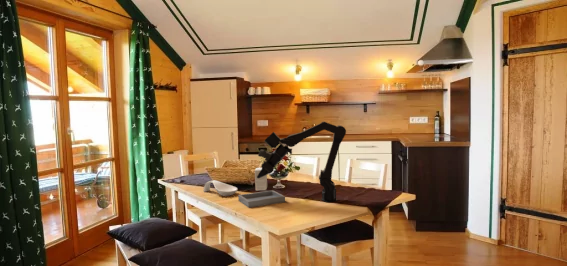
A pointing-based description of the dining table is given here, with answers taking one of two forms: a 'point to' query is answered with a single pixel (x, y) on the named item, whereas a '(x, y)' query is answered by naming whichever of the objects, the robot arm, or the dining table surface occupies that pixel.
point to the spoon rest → (221, 188)
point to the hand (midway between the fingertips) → (258, 176)
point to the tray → (261, 198)
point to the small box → (260, 180)
